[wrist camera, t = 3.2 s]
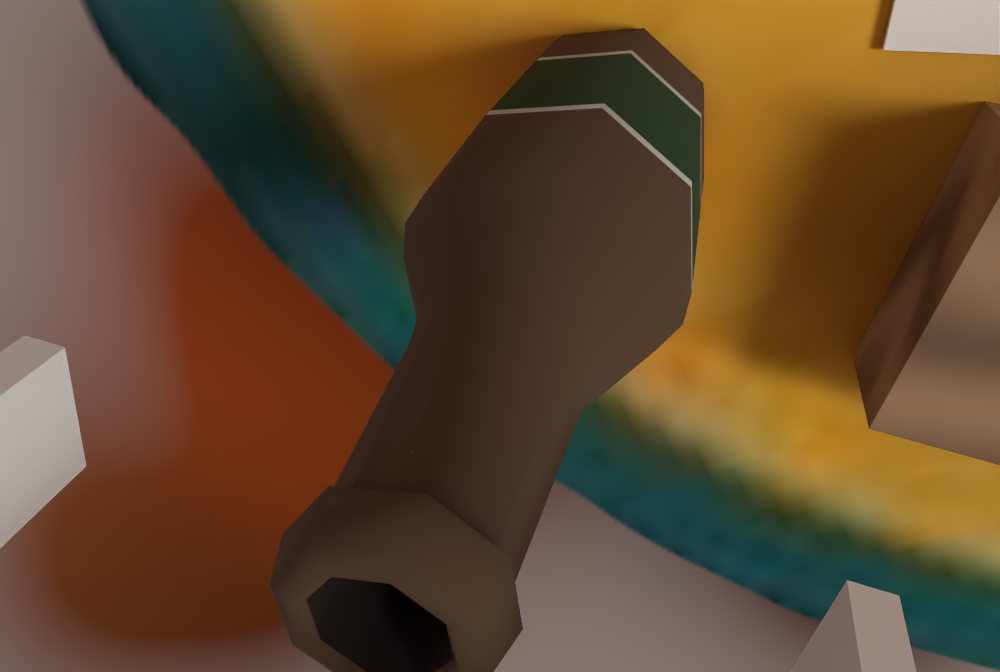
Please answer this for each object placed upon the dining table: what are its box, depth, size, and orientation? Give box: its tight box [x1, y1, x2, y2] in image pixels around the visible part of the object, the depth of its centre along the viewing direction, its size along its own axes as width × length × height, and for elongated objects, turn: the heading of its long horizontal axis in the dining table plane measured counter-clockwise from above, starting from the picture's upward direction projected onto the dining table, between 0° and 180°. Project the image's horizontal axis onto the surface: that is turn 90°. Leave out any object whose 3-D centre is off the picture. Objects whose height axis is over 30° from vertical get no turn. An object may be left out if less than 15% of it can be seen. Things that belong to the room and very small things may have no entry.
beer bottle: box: [270, 28, 704, 672], centre depth 21 cm, size 8×8×24 cm
